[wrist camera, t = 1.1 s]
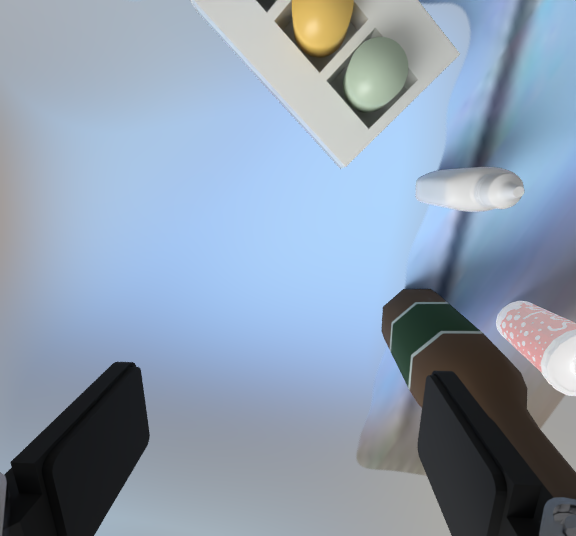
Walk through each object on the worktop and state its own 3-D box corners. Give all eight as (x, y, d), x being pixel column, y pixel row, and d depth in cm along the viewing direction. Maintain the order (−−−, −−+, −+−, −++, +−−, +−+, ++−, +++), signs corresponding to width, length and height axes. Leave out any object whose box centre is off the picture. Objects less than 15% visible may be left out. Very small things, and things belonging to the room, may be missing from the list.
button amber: (321, -19, 26) (324, -49, 22) (358, 26, 26) (366, 3, 23) (282, 27, 27) (278, 5, 23) (319, 69, 27) (321, 54, 24)
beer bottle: (437, 273, 35) (696, 461, 12) (457, 335, 37) (719, 604, 13) (368, 300, 36) (479, 517, 13) (391, 357, 38) (526, 641, 15)
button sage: (371, 41, 27) (381, 22, 23) (406, 83, 27) (420, 70, 24) (332, 84, 28) (335, 71, 24) (366, 124, 28) (374, 116, 25)
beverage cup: (557, 302, 35) (716, 380, 21) (530, 351, 37) (662, 452, 23) (504, 287, 35) (629, 355, 21) (479, 336, 36) (581, 429, 23)
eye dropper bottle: (455, 219, 33) (535, 240, 22) (406, 195, 33) (461, 204, 21) (479, 178, 32) (577, 178, 20) (429, 154, 32) (500, 139, 20)
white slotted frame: (292, -109, 27) (290, -164, 23) (437, 72, 30) (460, 54, 25) (198, 14, 30) (180, -15, 25) (340, 168, 32) (345, 167, 28)
